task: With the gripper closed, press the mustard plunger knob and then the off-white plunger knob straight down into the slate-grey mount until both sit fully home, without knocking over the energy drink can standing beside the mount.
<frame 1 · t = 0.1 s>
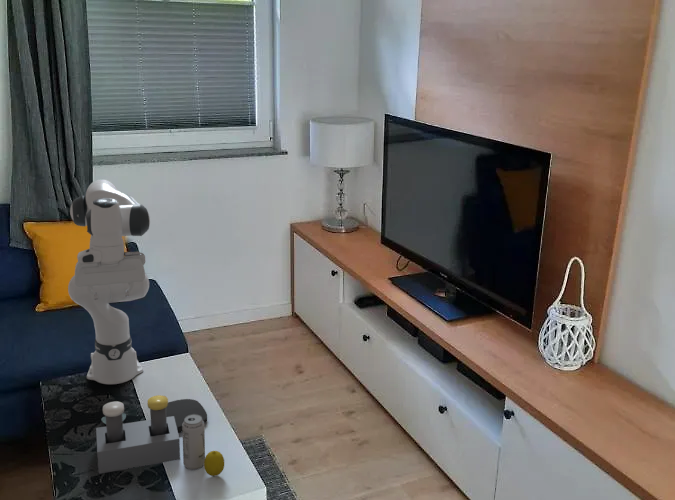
hand: (111, 297, 200), 39 cm above the table, tool pointing down, fingers open, 8 cm apart
lemon: (214, 476, 184), on the table
mount: (138, 454, 191), on the table
media streaming box: (180, 420, 209), on the table
energy drink can: (194, 465, 188), on the table
knob white: (116, 445, 188), point 4 cm above the table, slide at 4.0 cm
knob mustard: (159, 438, 192), point 4 cm above the table, slide at 4.0 cm
pacifier: (113, 422, 206), on the table
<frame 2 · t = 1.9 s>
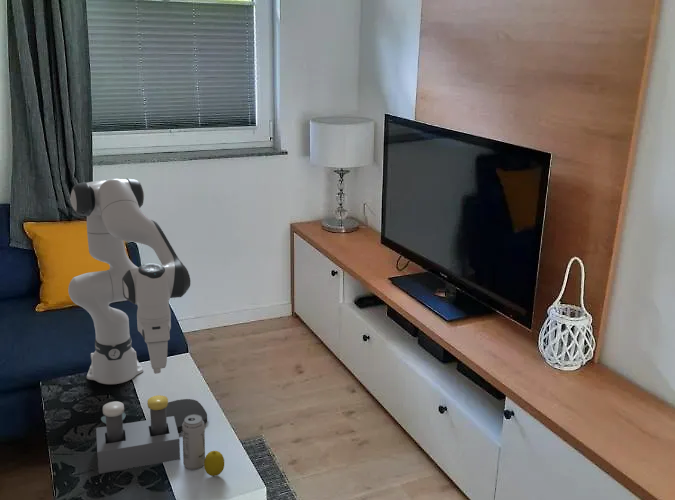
hand: (156, 367, 185), 27 cm above the table, tool pointing down, fingers open, 4 cm apart
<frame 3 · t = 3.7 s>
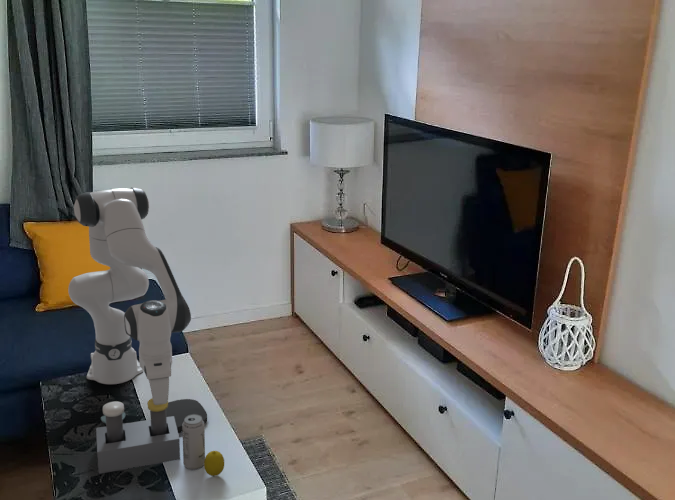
hand: (157, 401, 188), 16 cm above the table, tool pointing down, fingers closed, pressing on knob mustard
knob mustard: (159, 440, 192), point 4 cm above the table, slide at 3.5 cm, touching gripper
everything else where it was.
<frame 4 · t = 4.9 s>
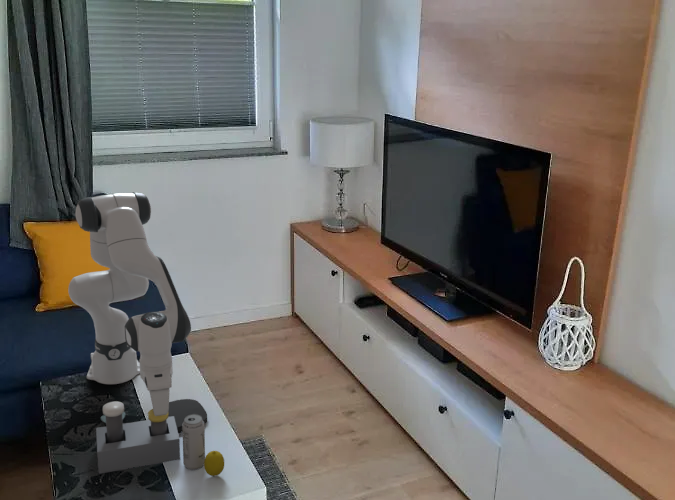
hand: (158, 412, 189), 13 cm above the table, tool pointing down, fingers closed
knob mustard: (159, 450, 193), resting on mount, slide at 0.0 cm
everything else where it was.
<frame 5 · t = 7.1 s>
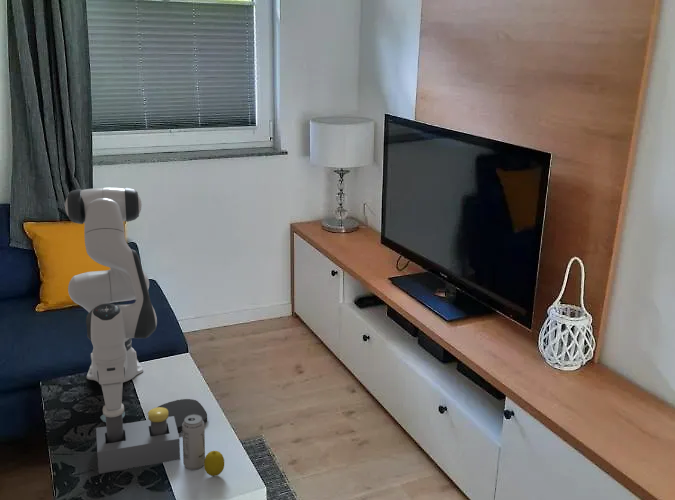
hand: (113, 407, 184), 17 cm above the table, tool pointing down, fingers closed, pressing on knob white
knob white: (116, 446, 188), point 4 cm above the table, slide at 3.8 cm, touching gripper
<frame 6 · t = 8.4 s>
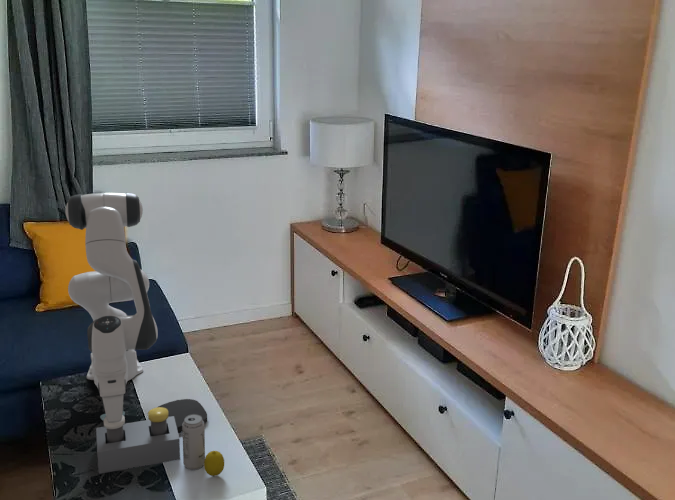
hand: (114, 418, 185), 13 cm above the table, tool pointing down, fingers closed
knob white: (116, 457, 189), resting on mount, slide at 0.0 cm
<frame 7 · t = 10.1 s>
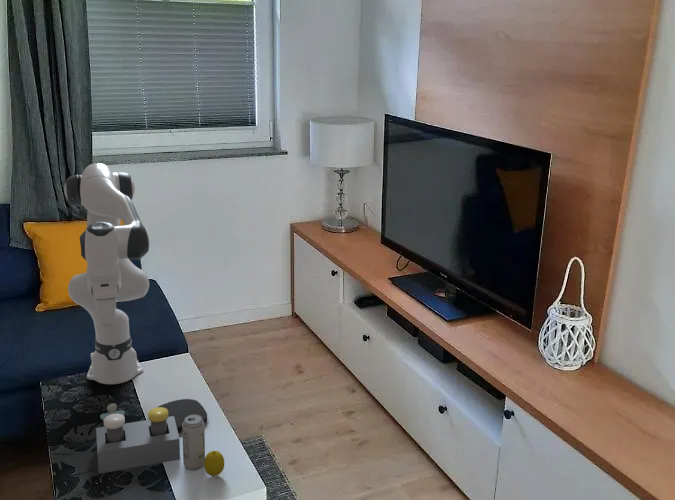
hand: (107, 326, 187), 36 cm above the table, tool pointing down, fingers closed
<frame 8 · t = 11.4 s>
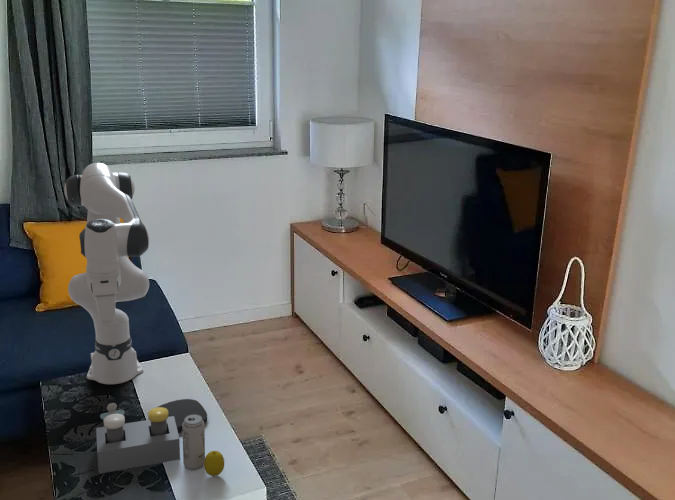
hand: (107, 323, 187), 37 cm above the table, tool pointing down, fingers closed
at the end: knob mustard slide at 0.0 cm; knob white slide at 0.0 cm; energy drink can tilted 0° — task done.
